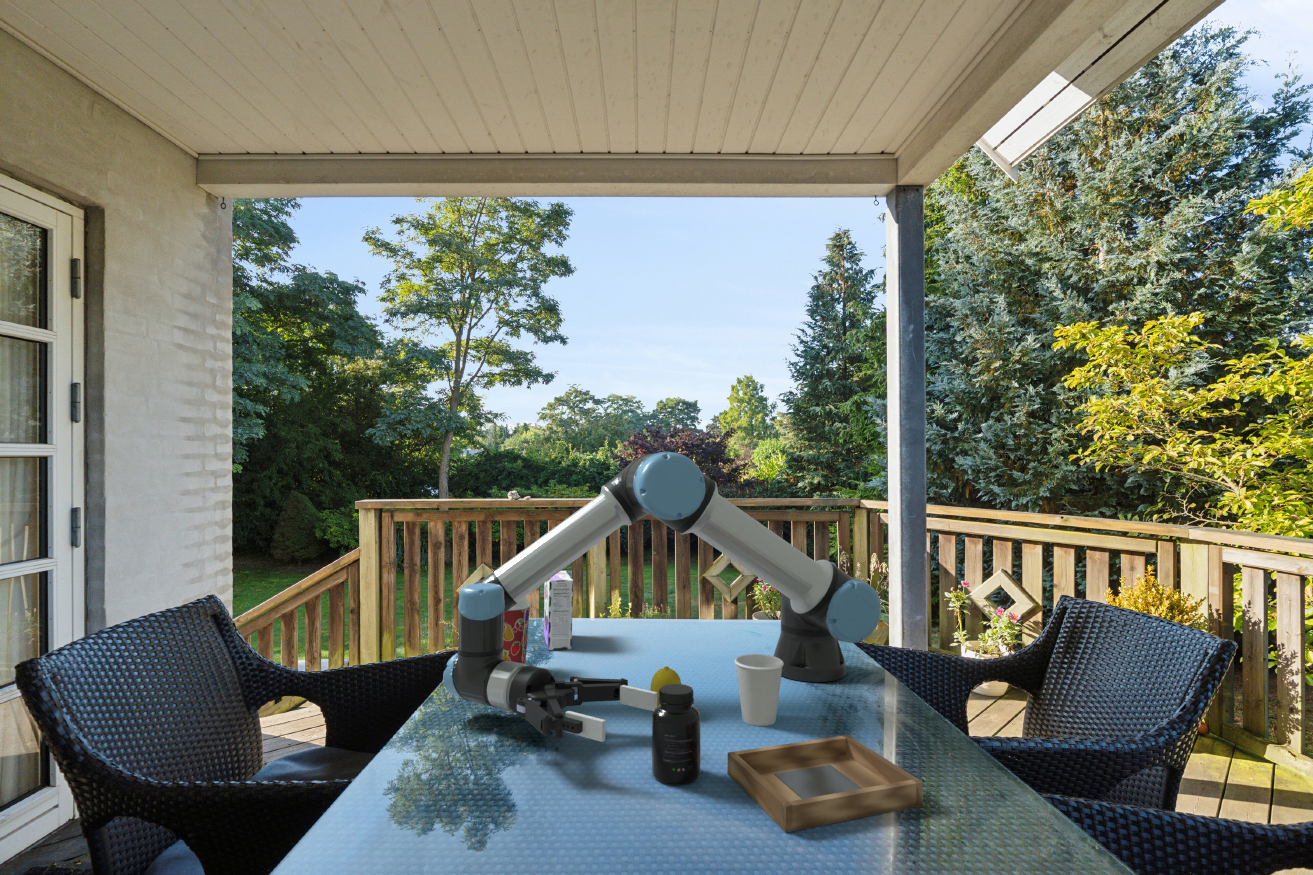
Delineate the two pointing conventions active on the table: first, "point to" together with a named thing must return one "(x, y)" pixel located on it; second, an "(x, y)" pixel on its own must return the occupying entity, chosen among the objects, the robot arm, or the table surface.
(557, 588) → the candy box
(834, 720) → the table surface
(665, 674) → the lemon
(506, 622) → the smoothie
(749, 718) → the dixie cup
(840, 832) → the table surface
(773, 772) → the tray
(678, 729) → the supplement bottle
